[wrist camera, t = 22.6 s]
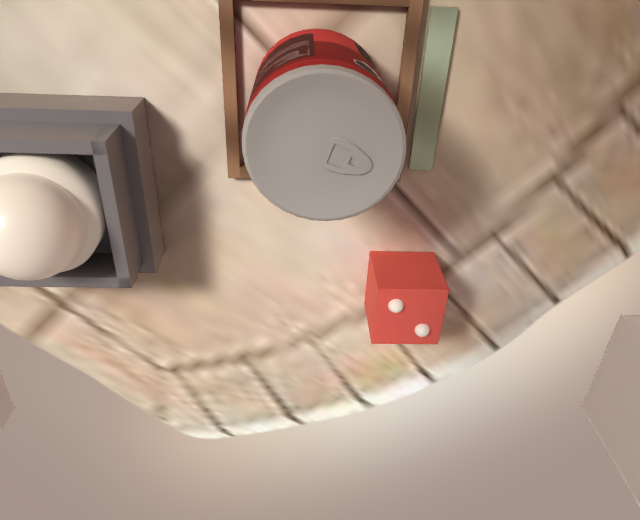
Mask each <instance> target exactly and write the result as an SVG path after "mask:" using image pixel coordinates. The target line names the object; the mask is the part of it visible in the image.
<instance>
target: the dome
mask: <svg viewBox="0 0 640 520" xmlns="http://www.w3.org/2000/svg"><path fill="white" fill-rule="evenodd" d="M107 229H108V228H107V223H106V218H105V213H104V208H103V203H102V198H101V193H100V188H99V183H98V177H97V174H96V173H95V172H94V170H93V169H92V168H91V167H89V166H88V165H87V164H86V163H85V162H83V161H82V160H81V159H79V158H78V157H76V156H74V155H72V154H43V153H4V154H2V155H1V156H0V275H2V276H4V277H7V278H11V279H16V280H39V279H44V278H47V277H51V276H53V275H56V274H58V273H60V272H65V271H68V270H71V269H74V268H76V267H78V266H80V265H81V264H83V263H84V262H85V261H86V260H88V259H89V257H90V256H91V255H92V254H93V252H94V251H95V249H96V247H97V246H98V244H99V242H100V241H101V239H102V238H103V236H104V234H105V233H106V231H107Z"/></svg>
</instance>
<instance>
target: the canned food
mask: <svg viewBox="0 0 640 520" xmlns="http://www.w3.org/2000/svg"><path fill="white" fill-rule="evenodd" d="M242 153H243V157H244V162H245V166H246V169H247V171H248V173H249V175H250V178H251V180H252V181H253V183H254V184H255V185H256V187H257V188H258V190H259V191H260V192H261V193H262V194H263V195H264V196H265V197H266V198H267V199H268V200H269V201H270V202H271V203H273V204H274V205H276V206H277V207H279V208H280V209H282V210H283V211H286V212H288V213H290V214H293V215H295V216H297V217H301V218H305V219H310V220H318V221H333V220H342V219H346V218H349V217H353V216H356V215H358V214H360V213H362V212H365V211H367V210H369V209H370V208H372V207H373V206H374V205H376V204H377V203H379V202H380V201H381V200H382V199H383V198H384V197H385V196H386V195H387V194H388V193H389V192H390V191H391V190H392V188H393V186H394V185H395V183H396V182H397V180H398V179H399V176H400V174H401V171H402V169H403V166H404V162H405V156H406V134H405V129H404V125H403V121H402V117H401V115H400V113H399V111H398V108H397V106H396V104H395V102H394V100H393V98H392V96H391V94H390V93H389V91H388V89H387V87H386V85H385V84H384V82H383V80H382V78H381V76H380V74H379V73H378V71H377V69H376V67H375V65H374V64H373V62H372V60H371V58H370V57H369V56H368V54H367V53H366V52H365V51H364V49H363V48H362V47H361V46H359V45H358V44H357V43H356V42H355V41H353V40H352V39H350V38H348V37H346V36H345V35H343V34H341V33H337V32H334V31H331V30H325V29H308V30H302V31H298V32H295V33H292V34H290V35H288V36H286V37H285V38H283V39H281V40H280V41H279V42H277V43H276V44H275V45H274V46H273V47H272V48H271V49H270V50H269V51H268V53H267V54H266V56H265V57H264V58H263V60H262V63H261V65H260V67H259V69H258V72H257V76H256V79H255V83H254V86H253V90H252V93H251V96H250V100H249V103H248V107H247V110H246V115H245V119H244V124H243V129H242Z"/></svg>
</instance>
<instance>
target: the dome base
mask: <svg viewBox="0 0 640 520" xmlns="http://www.w3.org/2000/svg"><path fill="white" fill-rule="evenodd" d="M4 153H43V154H72V155H74V156H76V157H78V158H79V159H81V160H82V161H83V162H85V163H86V164H87V165H88V166H89V167H91V168H92V169H93V170H94V172H95V173H96V174H97V177H98V183H99V188H100V193H101V198H102V203H103V208H104V213H105V218H106V223H107V228H108V229H107V231H106V233H105V234H104V236H103V238H102V239H101V241H100V242H99V244H98V246H97V247H96V249H95V251H94V252H93V254H92V255H91V256H90V257H89V259H88V260H86V261H85V262H84V263H83V264H81V265H80V266H78V267H76V268H74V269H71V270H68V271H65V272H60V273H58V274H56V275H53V276H51V277H47V278H44V279H39V280H16V279H11V278H7V277H4V276H2V275H0V286H21V287H95V288H132V286H133V284H134V282H135V279H136V277H137V275H138V273H156V271H157V269H158V266H159V264H160V261H161V259H162V256H163V254H164V251H165V250H164V242H163V235H162V227H161V220H160V213H159V205H158V198H157V190H156V183H155V176H154V168H153V161H152V153H151V146H150V138H149V131H148V124H147V116H146V109H145V101H144V98H143V97H111V96H79V95H46V94H14V93H0V156H1V155H2V154H4Z"/></svg>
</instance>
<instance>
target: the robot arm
mask: <svg viewBox="0 0 640 520" xmlns="http://www.w3.org/2000/svg"><path fill="white" fill-rule="evenodd" d="M581 407H582V408H583V410H584V412H585V413H586V415H587V417H588V418H589V420H590V422H591V424H592V426H593V427H594V429H595V431H596V432H597V434H598V436H599V438H600V439H601V441H602V443H603V445H604V446H605V448H606V450H607V451H608V453H609V455H610V457H611V458H612V460H613V462H614V463H615V465H616V467H617V469H618V470H619V472H620V474H621V475H622V477H623V479H624V481H625V482H626V484H627V486H628V488H629V489H630V491H631V493H632V495H633V496H634V498H635V500H636V501H637V503H638V505H639V507H640V315H621V316H620V318H619V320H618V323H617V325H616V327H615V329H614V332H613V334H612V336H611V339H610V341H609V343H608V345H607V348H606V350H605V352H604V355H603V357H602V359H601V362H600V364H599V366H598V369H597V371H596V373H595V375H594V378H593V380H592V382H591V385H590V387H589V389H588V392H587V394H586V396H585V398H584V401H583V403H582V405H581ZM13 409H14V405H13V402H12V400H11V398H10V395H9V392H8V390H7V387H6V385H5V382H4V380H3V378H2V375H1V372H0V432H1V430H2V429H3V427H4V425H5V423H6V422H7V420H8V418H9V416H10V415H11V413H12V411H13Z"/></svg>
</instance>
